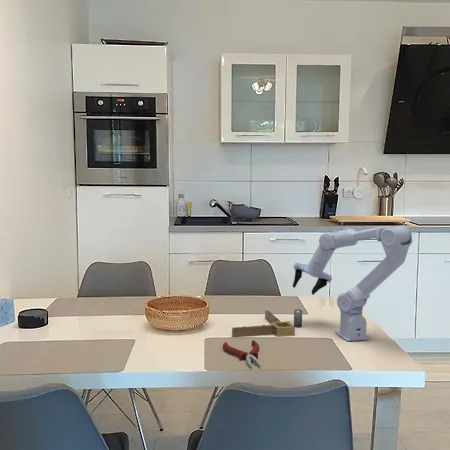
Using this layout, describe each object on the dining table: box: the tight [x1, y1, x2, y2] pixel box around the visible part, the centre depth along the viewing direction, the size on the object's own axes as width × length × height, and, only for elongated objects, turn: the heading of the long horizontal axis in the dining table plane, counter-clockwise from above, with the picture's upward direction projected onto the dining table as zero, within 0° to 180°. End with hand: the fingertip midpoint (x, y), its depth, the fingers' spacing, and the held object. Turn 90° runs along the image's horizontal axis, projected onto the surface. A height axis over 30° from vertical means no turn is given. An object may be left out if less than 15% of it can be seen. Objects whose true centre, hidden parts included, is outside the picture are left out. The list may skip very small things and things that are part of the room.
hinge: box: [231, 310, 296, 338], centre depth 195 cm, size 22×22×3 cm
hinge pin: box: [293, 308, 303, 329], centre depth 197 cm, size 3×3×6 cm
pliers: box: [222, 339, 262, 368], centre depth 167 cm, size 12×20×3 cm, turn 13°
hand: (303, 289), depth 201 cm, fingers open, 7 cm apart
